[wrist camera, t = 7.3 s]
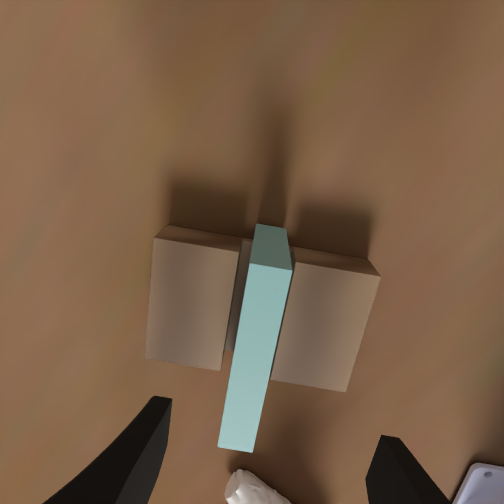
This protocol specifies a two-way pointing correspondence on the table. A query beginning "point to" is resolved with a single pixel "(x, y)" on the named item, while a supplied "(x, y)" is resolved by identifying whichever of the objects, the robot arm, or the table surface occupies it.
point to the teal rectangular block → (256, 337)
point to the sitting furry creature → (251, 490)
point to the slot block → (231, 297)
